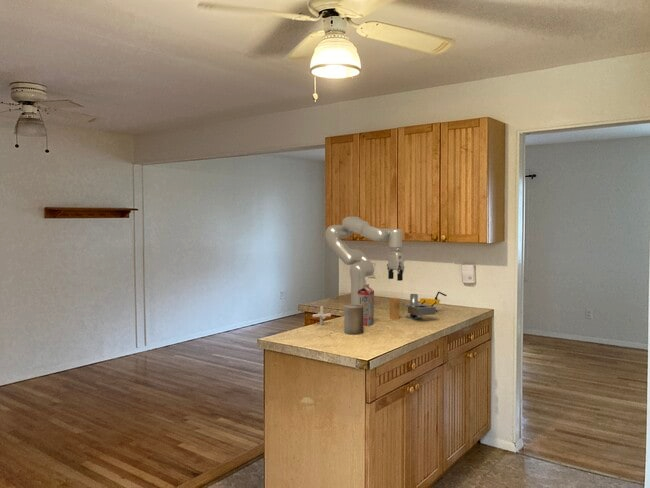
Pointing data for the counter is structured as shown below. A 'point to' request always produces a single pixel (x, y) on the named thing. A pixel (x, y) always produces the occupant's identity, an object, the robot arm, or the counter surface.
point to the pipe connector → (321, 315)
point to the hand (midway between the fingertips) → (395, 279)
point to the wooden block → (394, 308)
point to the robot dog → (431, 300)
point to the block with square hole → (418, 308)
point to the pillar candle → (353, 319)
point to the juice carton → (367, 304)
